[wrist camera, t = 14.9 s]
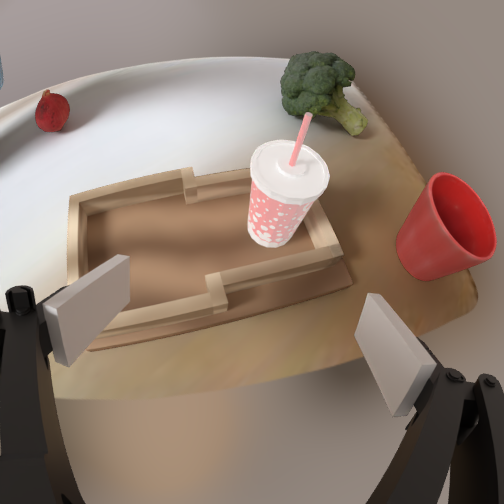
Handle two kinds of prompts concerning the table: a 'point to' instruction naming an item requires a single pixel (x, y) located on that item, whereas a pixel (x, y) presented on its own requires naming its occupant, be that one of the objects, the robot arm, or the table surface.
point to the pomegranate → (52, 112)
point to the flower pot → (445, 230)
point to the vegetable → (321, 89)
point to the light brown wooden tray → (195, 254)
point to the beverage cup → (283, 187)
